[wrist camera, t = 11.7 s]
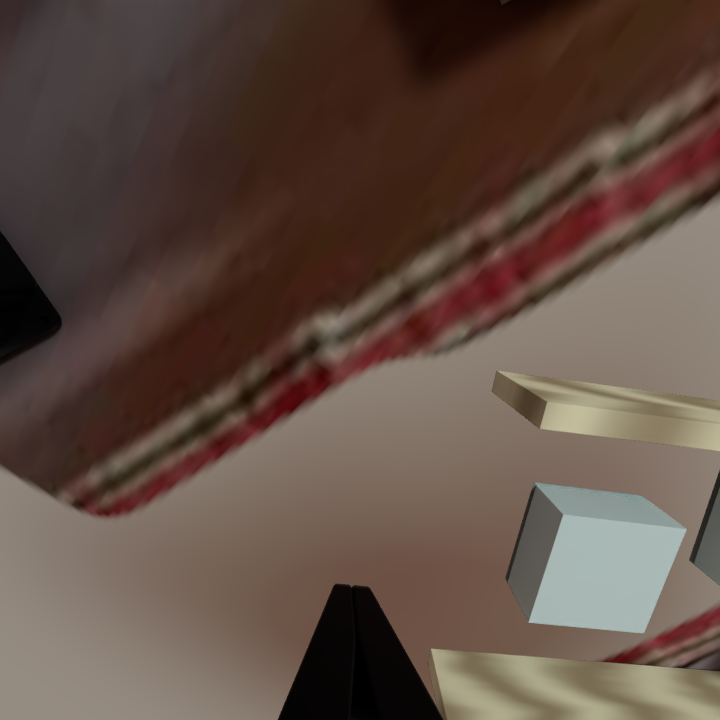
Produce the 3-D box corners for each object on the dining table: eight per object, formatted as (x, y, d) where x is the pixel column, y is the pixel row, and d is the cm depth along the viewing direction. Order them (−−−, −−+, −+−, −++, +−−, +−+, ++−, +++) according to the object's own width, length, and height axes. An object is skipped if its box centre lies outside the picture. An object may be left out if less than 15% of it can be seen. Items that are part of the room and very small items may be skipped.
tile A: (505, 578, 23) (528, 622, 20) (533, 482, 21) (563, 514, 18) (606, 588, 23) (643, 633, 20) (641, 495, 22) (687, 529, 19)
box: (427, 662, 24) (448, 761, 19) (496, 370, 19) (547, 401, 14) (755, 687, 25) (852, 784, 20) (888, 423, 21) (1052, 467, 16)
